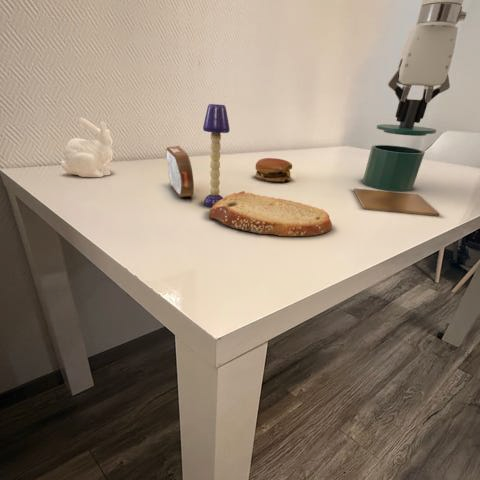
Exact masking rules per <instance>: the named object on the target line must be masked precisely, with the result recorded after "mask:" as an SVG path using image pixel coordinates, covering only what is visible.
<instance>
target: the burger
mask: <svg viewBox="0 0 480 480" xmlns="http://www.w3.org/2000/svg"><path fill="white" fill-rule="evenodd" d="M292 169H293V164H292V162H290V161H288V160H285V159H282V158H275V157H274V158H272V157H266V158H261V159H259V160H257V162H256V163H255V170H256V173H255V177H256V179H258V180H262V181H266V182H283V183H284V182H285V181H287V182H290V181H291V180H292V178H291V170H292Z"/></svg>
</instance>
